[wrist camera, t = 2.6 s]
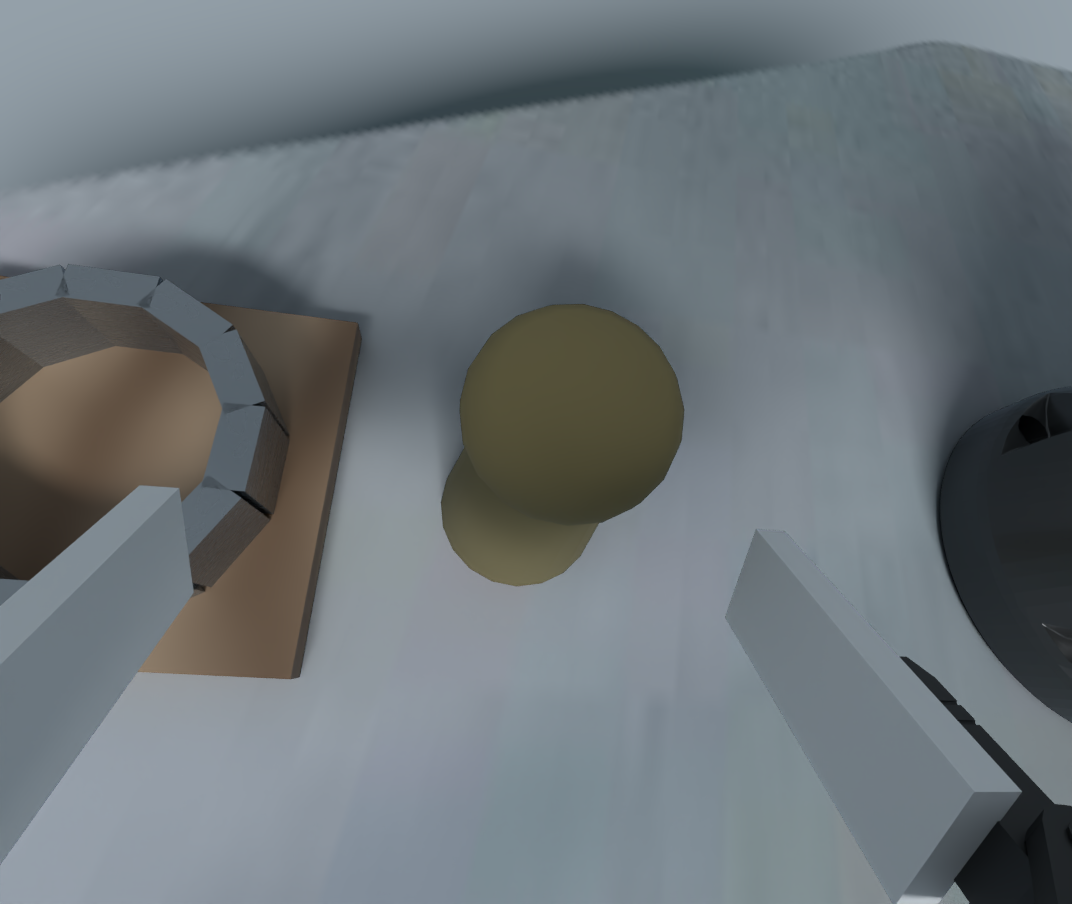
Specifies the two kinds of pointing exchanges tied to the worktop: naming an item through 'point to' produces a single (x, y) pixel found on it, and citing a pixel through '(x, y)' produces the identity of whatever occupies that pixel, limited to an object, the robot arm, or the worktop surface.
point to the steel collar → (168, 326)
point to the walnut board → (185, 477)
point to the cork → (557, 439)
